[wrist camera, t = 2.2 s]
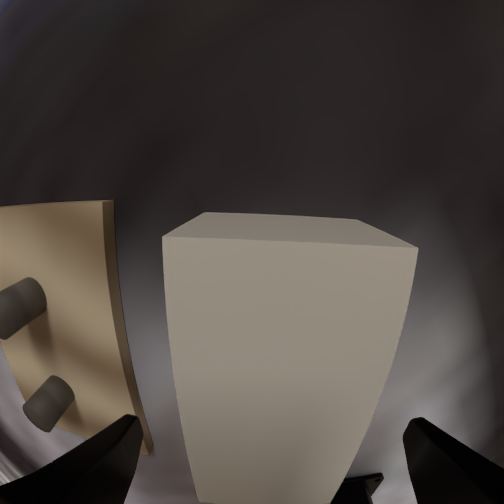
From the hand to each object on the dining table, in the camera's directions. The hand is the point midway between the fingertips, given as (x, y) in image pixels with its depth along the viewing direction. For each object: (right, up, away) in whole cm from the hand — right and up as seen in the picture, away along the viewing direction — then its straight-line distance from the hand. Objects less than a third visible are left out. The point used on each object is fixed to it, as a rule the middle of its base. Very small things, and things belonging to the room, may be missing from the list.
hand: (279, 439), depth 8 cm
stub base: (-12, +1, +5) cm, 13 cm away
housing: (0, +1, +5) cm, 5 cm away
